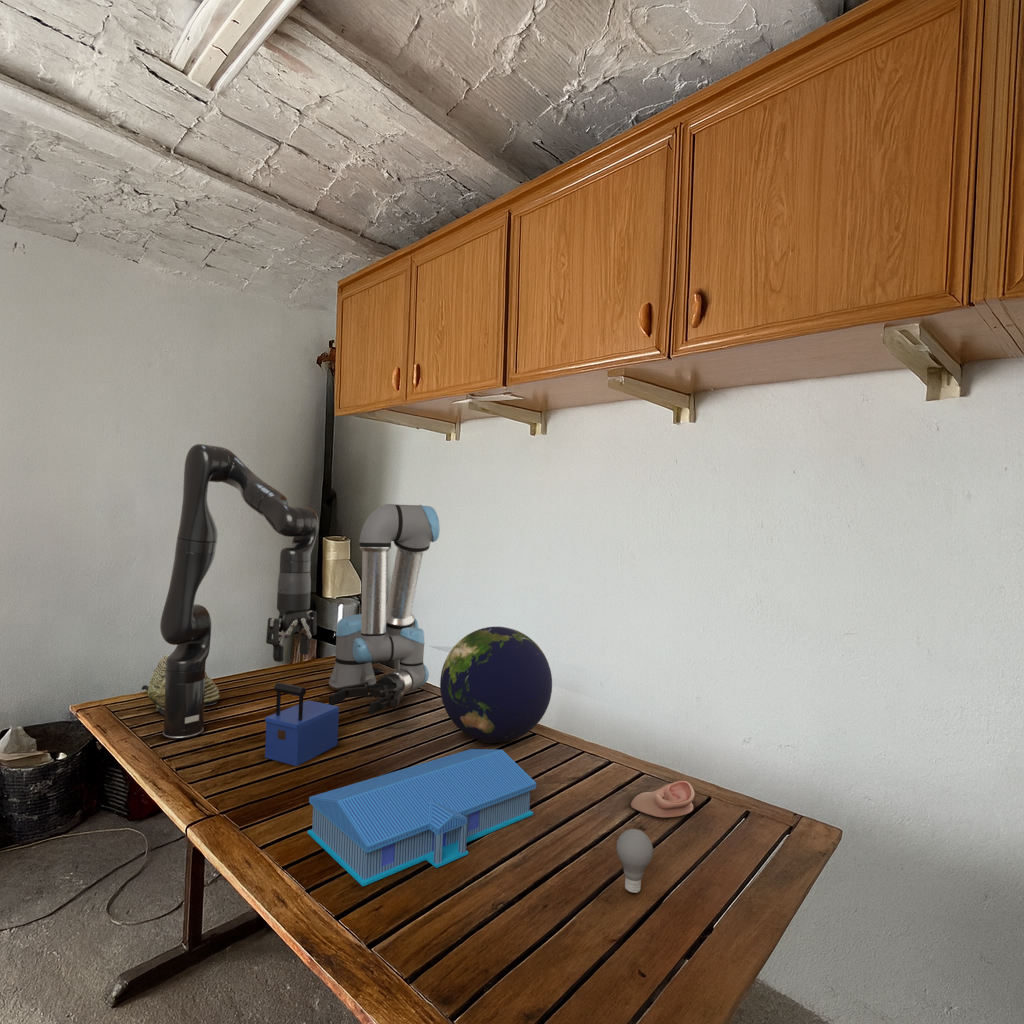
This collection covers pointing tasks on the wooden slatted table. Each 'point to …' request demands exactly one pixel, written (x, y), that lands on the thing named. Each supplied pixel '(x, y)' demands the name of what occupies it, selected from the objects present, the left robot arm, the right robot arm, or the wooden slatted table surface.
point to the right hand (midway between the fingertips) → (349, 704)
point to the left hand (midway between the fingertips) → (291, 657)
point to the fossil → (158, 687)
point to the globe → (496, 684)
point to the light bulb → (634, 857)
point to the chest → (301, 740)
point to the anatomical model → (666, 800)
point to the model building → (420, 812)
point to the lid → (298, 708)
